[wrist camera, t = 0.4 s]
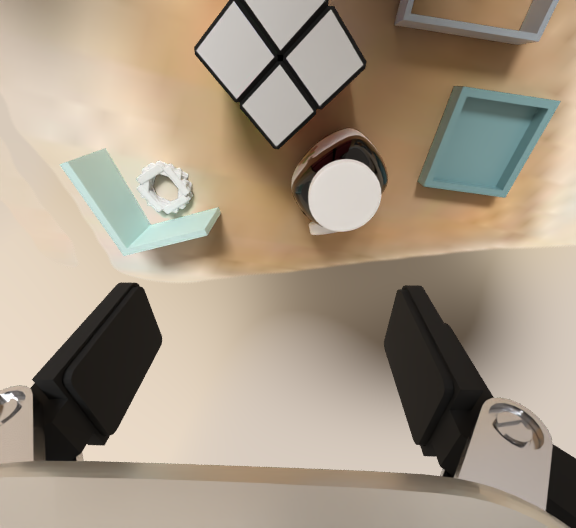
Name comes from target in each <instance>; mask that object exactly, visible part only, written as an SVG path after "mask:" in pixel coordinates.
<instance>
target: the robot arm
mask: <svg viewBox="0 0 576 528" xmlns="http://www.w3.org/2000/svg"><path fill="white" fill-rule="evenodd" d="M161 344H162V336H161V333H160V330H159V328H158V325H157V322H156V320H155V317H154V315H153V312H152V309H151V307H150V304H149V301H148V299H147V296H146V293H145V291H144V289H143V288H142V287H140V286H139V284H137V283H119V284H117V285H116V286H115V288H114V289H113V290H112V291H111V292H110V293H109V294H108V295H107V296H106V298H105V299H104V300H103V301H102V302H101V303H100V304H99V305H98V306H97V307H96V309H95V310H94V311H93V312H92V313H91V314H90V315H89V316H88V318H87V319H86V320H85V321H84V322H83V323H82V324H81V326H79V328H78V329H77V330H76V331H75V332H74V333H73V334H72V335H71V337H70V338H69V339H68V340H67V341H66V342H65V343H64V344H63V345H62V347H61V348H60V349H59V350H58V351H57V352H56V353H55V355H53V357H52V358H51V359H50V360H49V361H48V362H47V363H46V364H45V366H44V367H43V368H42V369H41V370H40V371H39V372H38V373H37V375H36V376H35V377H34V378H33V379H32V380H33V381H34V382H35V384H34V385H33V386H32V387H31V388H28V387H27V386H20V385H19V386H13V387H9V388H6V389H3V390H0V528H576V459H575V458H574V457H572V456H571V455H569V454H567V453H566V452H564V451H563V450H561V449H560V448H558V447H556V446H555V445H553V444H552V438H551V435H550V433H549V431H548V429H547V428H546V426H545V425H544V424H543V422H542V421H541V420H540V419H539V418H538V417H537V416H536V415H535V414H534V413H533V412H531V411H530V410H529V409H527V408H526V407H524V406H523V405H521V404H519V403H517V402H514V401H512V400H510V399H505V398H494V397H493V396H492V394H491V392H490V391H489V389H488V388H487V386H486V384H485V383H484V381H483V379H482V378H481V377H480V375H479V373H478V371H477V370H476V368H475V366H474V365H473V363H472V361H471V360H470V358H469V356H468V355H467V353H466V352H465V350H464V348H463V347H462V345H461V343H460V342H459V340H458V338H457V337H456V335H455V334H454V332H453V330H452V329H451V327H450V326H449V325H448V324H446V323H444V322H443V321H442V319H441V317H440V316H439V314H438V313H437V311H436V309H435V307H434V305H433V304H432V302H431V301H430V299H429V297H428V295H427V294H426V292H425V290H424V289H423V287H422V286H403V288H402V290H398V291H397V293H396V297H395V301H394V305H393V309H392V313H391V317H390V321H389V325H388V328H387V333H386V336H385V341H384V347H385V352H386V355H387V358H388V361H389V364H390V368H391V370H392V374H393V377H394V380H395V383H396V386H397V390H398V393H399V396H400V399H401V402H402V405H403V408H404V412H405V415H406V418H407V421H408V424H409V428H410V431H411V434H412V437H413V440H414V442H415V444H416V445H420V446H421V449H422V452H423V455H424V456H437V459H438V462H439V465H440V466H441V467H442V468H443V469H442V472H441V475H440V476H432V475H424V474H407V473H390V472H374V471H353V470H329V469H304V468H279V467H278V468H277V467H251V466H250V467H249V466H224V465H195V464H165V463H130V462H99V461H83V455H82V451H83V449H84V447H85V446H86V444H88V445H105V443H106V442H107V440H108V438H109V436H110V435H112V434H114V433H115V431H116V430H117V428H118V426H119V425H120V423H121V420H122V419H123V417H124V415H125V413H126V411H127V409H128V407H129V405H130V404H131V402H132V400H133V398H134V396H135V394H136V392H137V390H138V388H139V386H140V385H141V383H142V381H143V379H144V377H145V375H146V373H147V371H148V369H149V367H150V365H151V364H152V362H153V360H154V358H155V356H156V354H157V352H158V350H159V348H160V346H161Z"/></svg>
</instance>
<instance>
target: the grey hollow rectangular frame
mask: <svg viewBox="0 0 576 528" xmlns="http://www.w3.org/2000/svg"><path fill="white" fill-rule="evenodd" d="M558 1H559V0H533V1H532V3H531V6H530V8H529V10H528V12H527V15H526V17H525V19H524V21H523V23H522V26H521V28H520V30H519V31H517V30H510V29H504V28H498V27H492V26H486V25H479V24H473V23H467V22H461V21H454V20H448V19H442V18H436V17H430V16H423V15H417V14H411V10H412V6H413V3H414V0H400V4H399V8H398V12H397V16H396V19H395V23H394V25H396V26H402V27H409V28H415V29H421V30H427V31H434V32H440V33H446V34H453V35H459V36H465V37H472V38H478V39H484V40H490V41H497V42H503V43H509V44H516V45H520V44H526V43H532V42H538V41H539V40H540V38H541V36H542V34H543V32H544V30H545V28H546V26H547V24H548V22H549V20H550V17H551V15H552V13H553V11H554V9H555V7H556V5H557V3H558Z"/></svg>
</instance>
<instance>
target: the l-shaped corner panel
mask: <svg viewBox="0 0 576 528" xmlns="http://www.w3.org/2000/svg"><path fill="white" fill-rule="evenodd" d="M60 166H61V167H62V169H63V170H64V172H65V173H66V174H67V176H68V177H69V179H70V180H71V181H72V183H73V184H74V186H75V187H76V189H77V190H78V191H79V193H80V194H81V196H82V197H83V199H84V200H85V201H86V203H87V204H88V206H89V207H90V209H91V210H92V211H93V213H94V214H95V216H96V217H97V218H98V220H99V221H100V223H101V224H102V226H103V227H104V228H105V230H106V231H107V233H108V234H109V236H110V237H111V238H112V240H113V241H114V243H115V244H116V245H117V247H118V248H119V250H120V251H121V253H122V254H123V255H124V256H126V255H130V254H134V253H138V252H142V251H146V250H150V249H154V248H158V247H162V246H167V245H171V244H175V243H179V242H183V241H187V240H191V239H195V238H199V237H203V236H207V235H208V234H209V232H210V230H211V229H212V227H213V225H214V224H215V222H216V220H217V219H218V217H219V215H220V214H221V212H220V209H219V207H217V208H213V209H210V210H206V211H202V212H198V213H195V214H191V215H187V216H183V217H179V218H176V219H172V220H168V221H164V222H160V223H157V224H153V225H151V224H150V222H149V221H148V219H147V217H146V215H145V214H144V212H143V210H142V209H141V207H140V205H139V204H138V202H137V200H136V199H135V197H134V195H133V194H132V192H131V190H130V189H129V187H128V185H127V184H126V182H125V180H124V179H123V177H122V175H121V174H120V172H119V170H118V168H117V167H116V165H115V163H114V162H113V160H112V158H111V157H110V155H109V153H108V152H107V150H106V148H105V149H102V150H99V151H96V152H93V153H91V154H88V155H85V156H82V157H79V158H77V159H74V160H71V161H68V162H65V163H62V164H60ZM158 174H161V175H164V176H168V177H169V178H170V179H171V180H172V181H173V183H174V184H175V185H176V186H177V188H178V198H177V199H175V200H173V201H169V200H167V199H164V198H162V197H160V196H158V195H157V194H156V192H155V190H154V188H153V185H154V181H155V177H156V175H158ZM187 178H188V174H187V173H185V172H183V171H182V170H181V168H175V167H174V166H173V165H172V164H166V163H164V162H162V161H157V162H156V163H155V164H154V163H150V164H148V166H147V167H143V169H142V174H141V175H139V176H138V177H137V178H136V180H137V181H138V182H139V183H140V185H139V186H138V187H137V190H138V191H139V192H140V193H141V197H142V198H145V199H146V200H147V201H148V202H147V204H148V205H149V206H152V207H153V208H154V209H155V210H156V211H157V212H160V211H161V210H163V211H164V212H165V213H166V214H169V213H171V212H173V213H177V212H178V210H179V208H180V209H184V208H185V207H186V204H189V200H191V197H193V194H192V192H191V187H192V183H191V182H189V181H188V180H187Z"/></svg>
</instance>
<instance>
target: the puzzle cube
mask: <svg viewBox="0 0 576 528" xmlns="http://www.w3.org/2000/svg"><path fill="white" fill-rule="evenodd" d="M328 1H329V0H229V2H228V3H227V4H226V6H225V7H224V8H223V10H222V11H221V12H220V14H219V15H218V16H217V18H216V19H215V20H214V22H213V23H212V24H211V26H210V27H209V28H208V30H207V31H206V32H205V34H204V35H203V36H202V38H201V39H200V40H199V42H198V43H197V44H196V46H195V47H194V50H195V55H196V56H197V57H198V59H199V60H200V61H201V62H202V63H203V65H204V66H205V67H206V68H207V69H208V71H209V72H210V73H211V74H212V75H213V77H214V78H215V79H216V80H217V81H218V82H219V84H220V85H221V86H222V87H223V88H224V90H225V91H226V92H227V93H228V94H229V96H230V97H231V98H232V99H233V100H234V102H240V109H241V110H242V111H243V112H244V113H245V115H246V116H247V117H248V118H249V119H250V121H251V122H252V123H253V124H254V125H255V127H256V128H257V129H258V130H259V131H260V132H261V134H262V135H263V136H264V137H265V138H266V140H267V141H268V142H269V143H270V144H271V146H272V147H273V148H274V149H279V148H280V147H281V146H283V145H284V144H285V143H286V142H287V141H288V140H289V139H290V138H291V137H292V136H293V135H294V134H295V133H296V132H297V131H299V130H300V129H301V128H302V127H303V126H304V125H305V124H306V123H307V122H308V121H309V120H310V119H311V118H312V117H314V116H315V115H316V108H317V109H323V108H324V107H325V106H326V105H327V104H328V103H329V102H330V101H331V100H332V99H333V98H334V97H335V96H336V95H337V94H339V93H340V92H341V91H342V90H343V89H344V88H345V87H346V86H347V85H348V84H349V83H350V82H351V81H352V80H354V79H355V78H356V77H357V76H358V75H359V74H360V73H361V72H362V71H363V70H364V69H365V67H366V60H365V58H364V57H363V55H362V53H361V51H360V50H359V48H358V46H357V45H356V43H355V41H354V39H353V38H352V36H351V34H350V33H349V31H348V29H347V28H346V26H345V24H344V22H343V21H342V19H341V17H340V16H339V14H338V12H337V11H336V9H335V7H334V6H328Z"/></svg>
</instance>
